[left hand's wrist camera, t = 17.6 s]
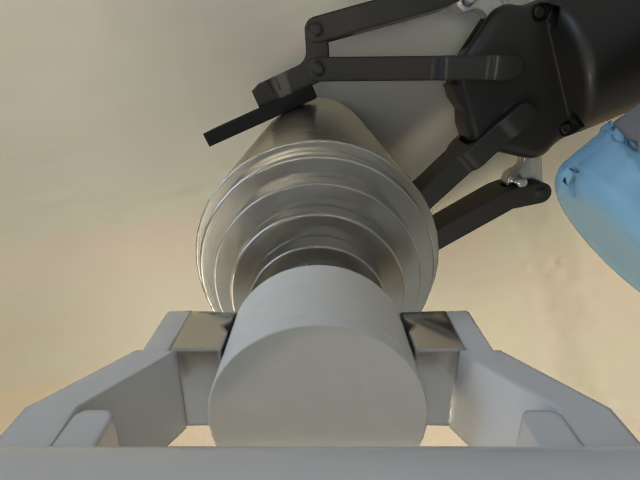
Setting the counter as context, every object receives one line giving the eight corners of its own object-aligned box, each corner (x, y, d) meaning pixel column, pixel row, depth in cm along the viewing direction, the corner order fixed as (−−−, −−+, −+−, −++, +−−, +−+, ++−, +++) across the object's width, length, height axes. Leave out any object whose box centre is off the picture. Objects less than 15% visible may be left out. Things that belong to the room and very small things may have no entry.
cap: (261, 239, 9) (242, 294, 7) (431, 295, 10) (466, 364, 7) (213, 384, 10) (184, 470, 8) (365, 427, 11) (378, 520, 9)
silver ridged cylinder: (382, 180, 33) (561, 481, 9) (289, 216, 34) (222, 574, 10) (347, 79, 31) (465, 123, 6) (247, 121, 32) (21, 296, 7)
